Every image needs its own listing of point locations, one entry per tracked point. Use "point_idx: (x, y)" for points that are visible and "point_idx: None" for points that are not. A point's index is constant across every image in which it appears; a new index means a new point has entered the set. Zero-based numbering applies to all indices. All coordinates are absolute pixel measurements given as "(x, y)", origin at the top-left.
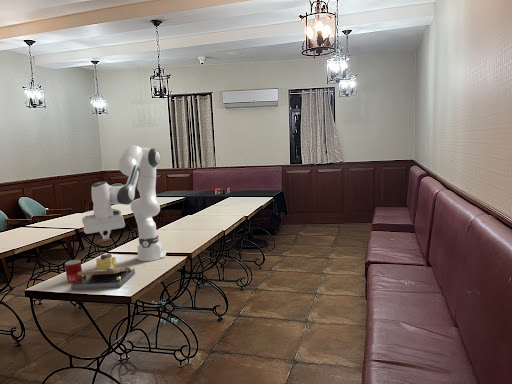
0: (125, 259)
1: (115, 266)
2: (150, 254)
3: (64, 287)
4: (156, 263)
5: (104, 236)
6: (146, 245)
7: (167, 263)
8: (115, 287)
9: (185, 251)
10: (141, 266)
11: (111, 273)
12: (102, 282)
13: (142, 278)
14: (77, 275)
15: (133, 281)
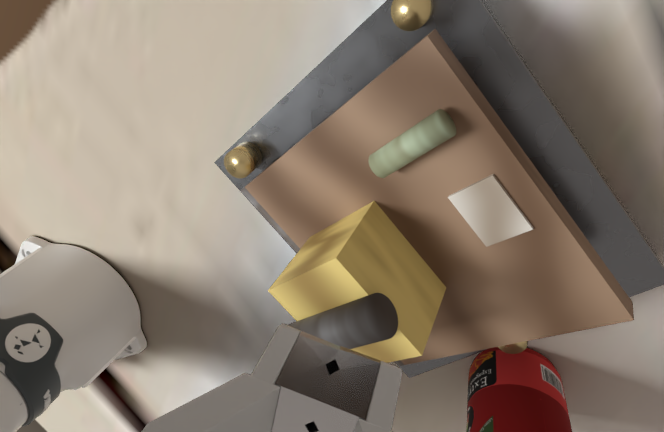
0: (186, 385)
1: (312, 239)
2: (68, 280)
3: (632, 341)
4: (84, 196)
5: (363, 409)
6: (34, 330)
7: (34, 136)
8: None
9: None
10: (161, 231)
11: (452, 53)
12: (516, 98)
13: (233, 9)
14: (521, 375)
15: (303, 8)
